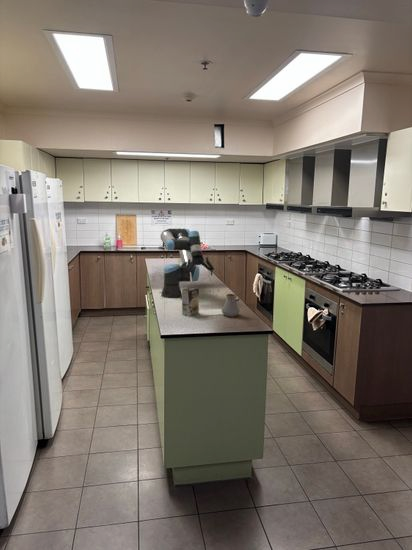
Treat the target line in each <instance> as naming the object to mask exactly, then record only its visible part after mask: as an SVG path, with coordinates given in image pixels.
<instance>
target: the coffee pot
mask: <svg viewBox="0 0 412 550" xmlns="http://www.w3.org/2000/svg"><path fill="white" fill-rule="evenodd" d="M225 296H226V300H225V302H224V304H223V306H222V308H221V309H222V313H223V314H224V315H223V316H226V317H230V318H231V317H232V318H233V317H236V316H238V315H239V313H240V312H241V311H240V308H239V305H238V303H241V299H240V298H237V297H238V295H237V294H235V293H227V294H226V295H225ZM236 298H237V299H236Z"/></svg>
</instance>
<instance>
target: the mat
mask: <svg viewBox="0 0 412 550" xmlns="http://www.w3.org/2000/svg"><path fill="white" fill-rule="evenodd" d="M197 314H198V315H199V316H201V317H207V316H225V315H224V314H223V313H222V308H213V309H211V308H210V309H199V313H197Z"/></svg>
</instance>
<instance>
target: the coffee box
mask: <svg viewBox="0 0 412 550" xmlns="http://www.w3.org/2000/svg"><path fill="white" fill-rule="evenodd" d="M199 291H200V288H198V287H193V286H192V287H187V288H183V289H181V292H182V296H181V300H182V301H181V305H182V306H181V307H182V308H181V310H182V311H181V313H182V315H183V316H187V317H191V316H194V315H196V314H198V313H199V310H200V308H199V305H200V303H199V301H200V299H199V297H200V292H199Z"/></svg>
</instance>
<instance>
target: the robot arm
mask: <svg viewBox="0 0 412 550" xmlns="http://www.w3.org/2000/svg"><path fill="white" fill-rule="evenodd" d="M200 237H201V236H200V233H199V231H198V230H190V229H188V228H167V229H165V230H163V231H162V232H161V234H160V240H161V241H162V242H163V243H164V244H165V247H166V248H165V249H166V251H171V252H172V251H179V256H180V261H181V265H180V264H178V263H173V264H168V265H166V266H164V268H163V287H162V290H161V297H162V298H166V299H175V298H176V299H177V298H182V289H181V286H180V283H183V282H186V283H187V282H190V283H193V282H197V281H198V280H199V277H200V266H203V268H205V269H206V270H208V276H209V277H208V278H209V281H212V280H213V278H212V276H213V271H214V270H215V267H214V266H213V265H212V263H211V262H210V260H209V258H208V257H203V256H204V255H203V249H202V245H201V238H200Z"/></svg>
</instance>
